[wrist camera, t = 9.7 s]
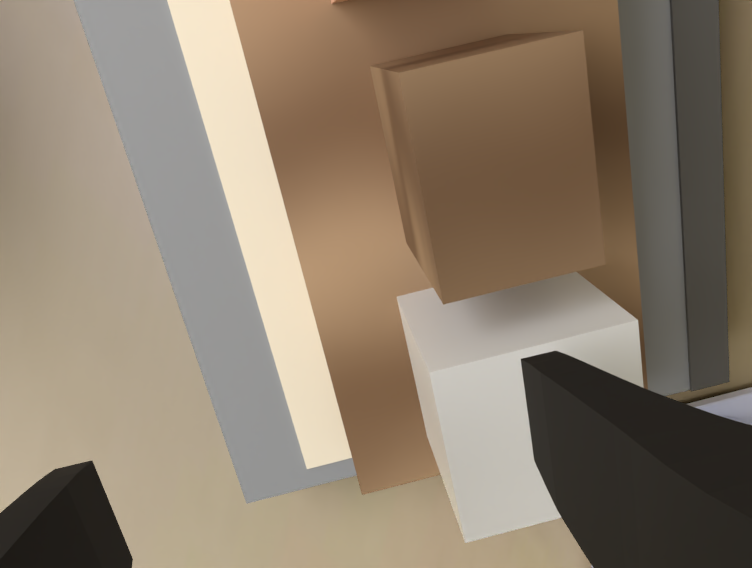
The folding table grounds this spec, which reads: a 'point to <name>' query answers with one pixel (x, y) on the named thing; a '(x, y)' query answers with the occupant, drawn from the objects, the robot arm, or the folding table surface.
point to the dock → (276, 244)
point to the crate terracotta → (336, 0)
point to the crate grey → (504, 386)
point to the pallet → (360, 201)
